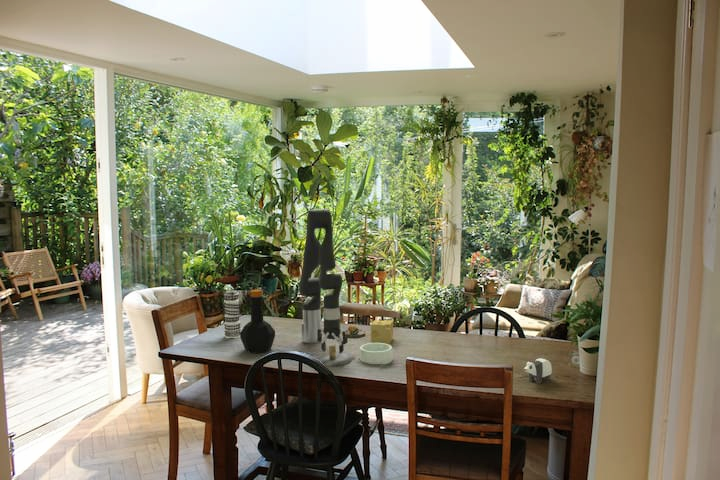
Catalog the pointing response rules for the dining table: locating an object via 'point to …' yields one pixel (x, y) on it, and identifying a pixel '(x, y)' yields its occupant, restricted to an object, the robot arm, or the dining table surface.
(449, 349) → the dining table surface
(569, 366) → the dining table surface
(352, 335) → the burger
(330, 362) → the lid
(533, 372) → the giant panda
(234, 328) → the decorative candle
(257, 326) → the bottle
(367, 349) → the bowl
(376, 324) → the cheese
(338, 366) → the mat
